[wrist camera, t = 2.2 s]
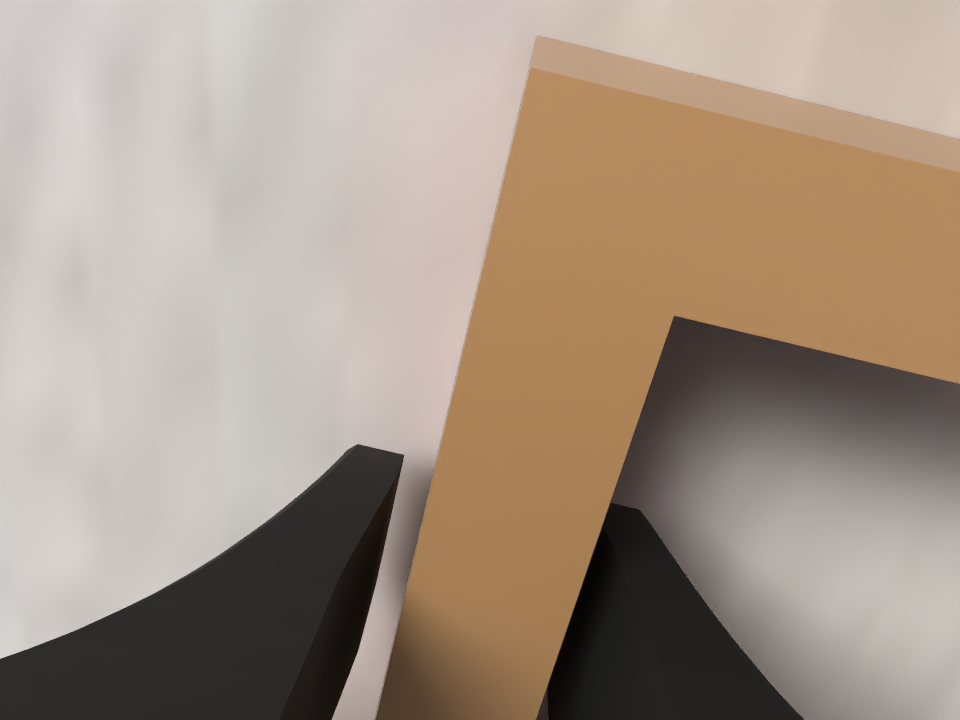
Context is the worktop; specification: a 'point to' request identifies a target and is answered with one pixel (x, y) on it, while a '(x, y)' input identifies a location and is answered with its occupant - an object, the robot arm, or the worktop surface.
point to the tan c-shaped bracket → (644, 328)
